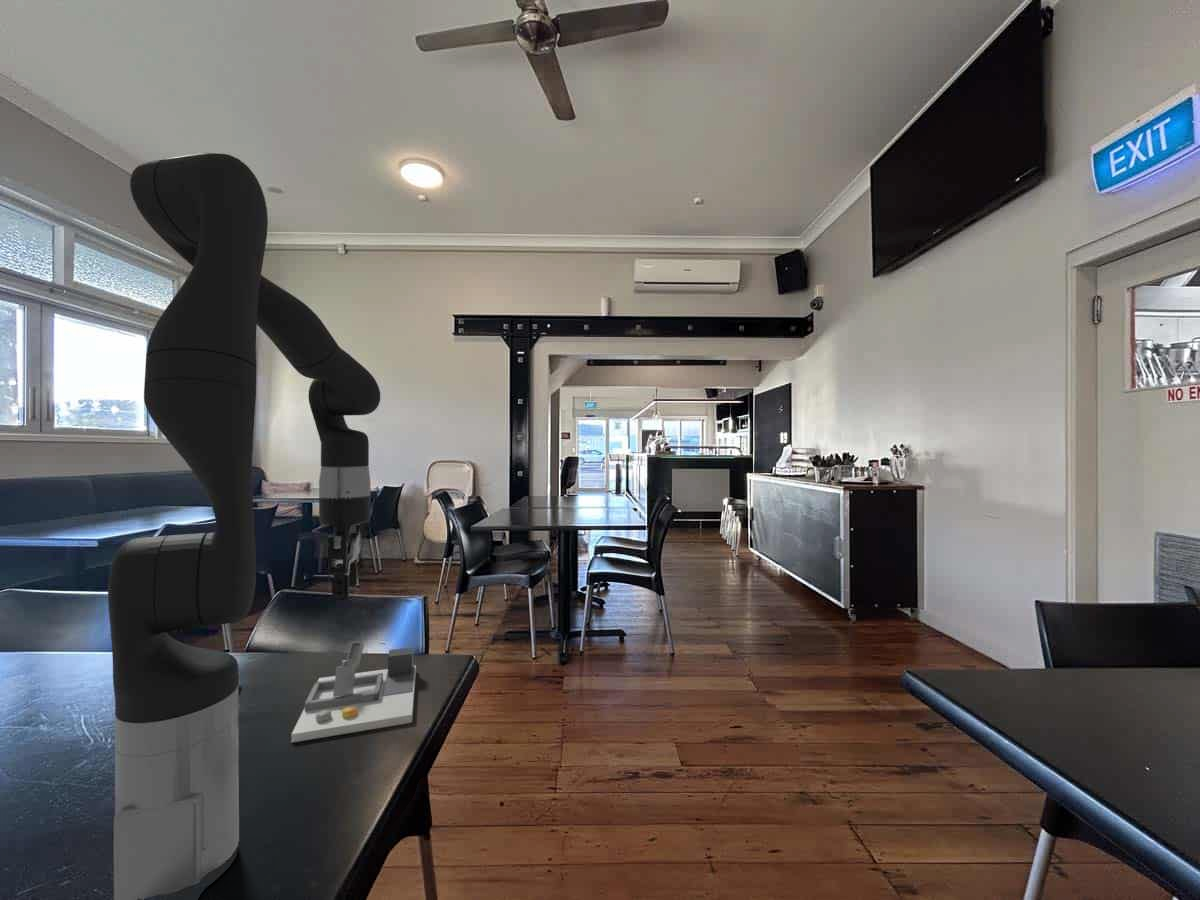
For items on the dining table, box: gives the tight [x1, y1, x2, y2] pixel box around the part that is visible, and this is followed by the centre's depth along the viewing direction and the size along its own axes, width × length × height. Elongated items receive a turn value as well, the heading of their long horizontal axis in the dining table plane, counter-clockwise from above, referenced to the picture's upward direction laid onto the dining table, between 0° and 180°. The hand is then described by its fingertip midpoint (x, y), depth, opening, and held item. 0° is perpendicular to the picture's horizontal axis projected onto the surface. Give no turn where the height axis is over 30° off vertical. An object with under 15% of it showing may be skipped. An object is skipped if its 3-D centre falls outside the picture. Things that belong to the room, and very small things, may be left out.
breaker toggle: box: [387, 647, 414, 676], centre depth 89 cm, size 3×4×4 cm
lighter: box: [333, 640, 365, 697], centre depth 82 cm, size 7×2×8 cm, turn 7°
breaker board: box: [290, 664, 417, 744], centre depth 81 cm, size 18×16×2 cm
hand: (345, 592), depth 81 cm, fingers open, 8 cm apart
